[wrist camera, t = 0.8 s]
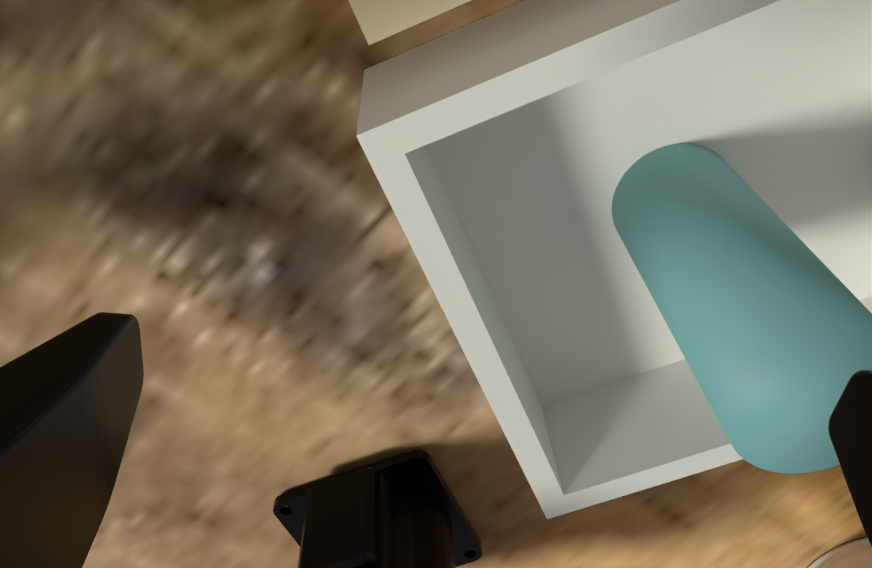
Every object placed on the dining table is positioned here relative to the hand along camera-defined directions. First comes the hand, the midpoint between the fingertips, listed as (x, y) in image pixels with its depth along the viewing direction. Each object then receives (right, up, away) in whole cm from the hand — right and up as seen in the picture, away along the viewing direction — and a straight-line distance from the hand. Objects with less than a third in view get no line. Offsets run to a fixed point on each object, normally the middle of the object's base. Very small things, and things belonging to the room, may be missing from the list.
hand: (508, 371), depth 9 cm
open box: (+6, +4, +13) cm, 15 cm away
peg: (+6, +4, +13) cm, 14 cm away
